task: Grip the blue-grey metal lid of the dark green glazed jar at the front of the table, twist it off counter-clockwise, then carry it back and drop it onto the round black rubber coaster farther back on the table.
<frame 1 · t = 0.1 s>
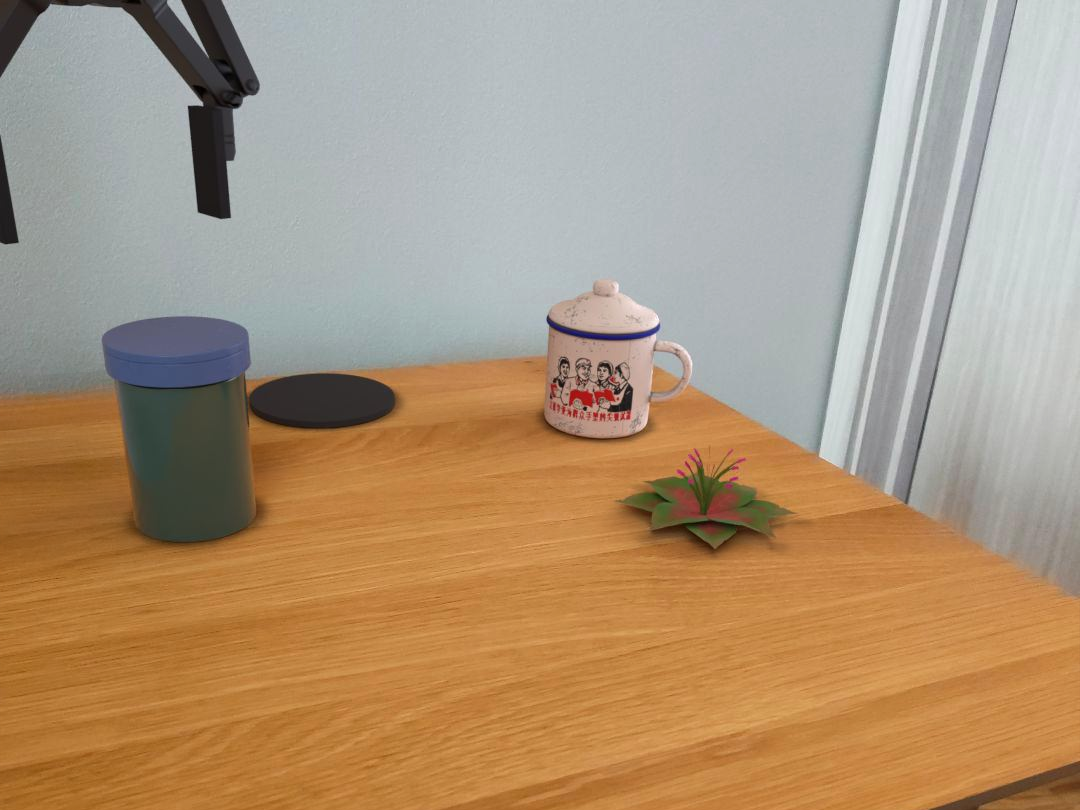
hand: (115, 227, 64), 18 cm above the table, tool pointing down, fingers open, 13 cm apart
jar lid: (177, 342, 64), point 12 cm above the table, screwed on, not yet turned
lily flower: (704, 518, 73), on the table
jar: (196, 516, 69), on the table
teacup with lid: (612, 425, 88), on the table
coaster: (323, 402, 89), on the table
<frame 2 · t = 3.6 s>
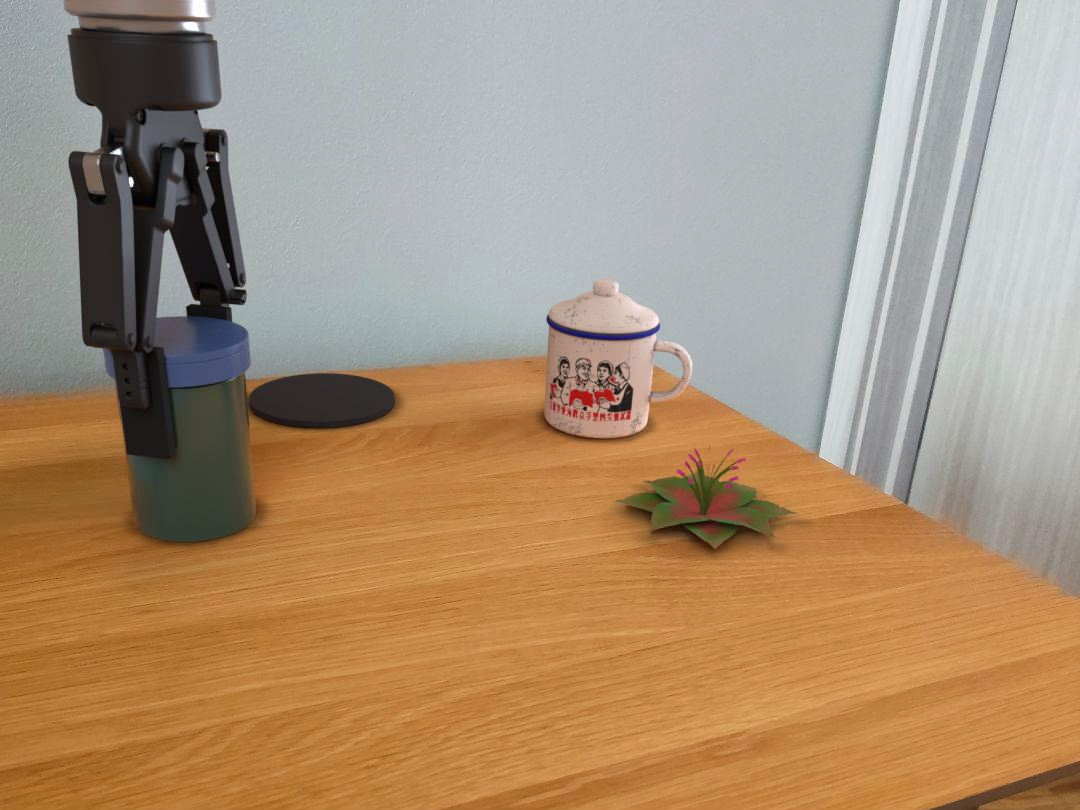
hand: (186, 427, 66), 6 cm above the table, tool pointing down, fingers closed on jar lid, 8 cm apart
jar lid: (177, 343, 64), point 12 cm above the table, screwed on, not yet turned, touching gripper
everything else where it was.
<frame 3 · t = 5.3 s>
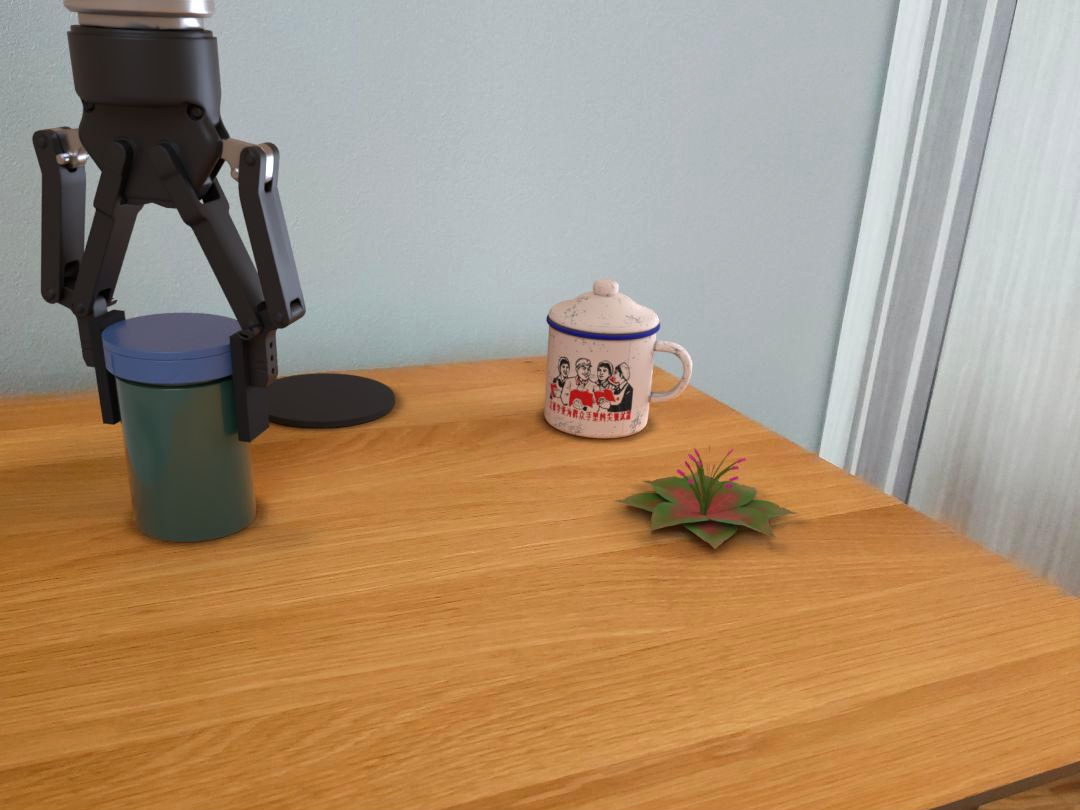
hand: (186, 425, 66), 6 cm above the table, tool pointing down, fingers closed on jar lid, 8 cm apart
jar lid: (177, 339, 64), point 12 cm above the table, turned 87° so far, risen 0.2 cm, still on its thread, touching gripper
everything else where it was.
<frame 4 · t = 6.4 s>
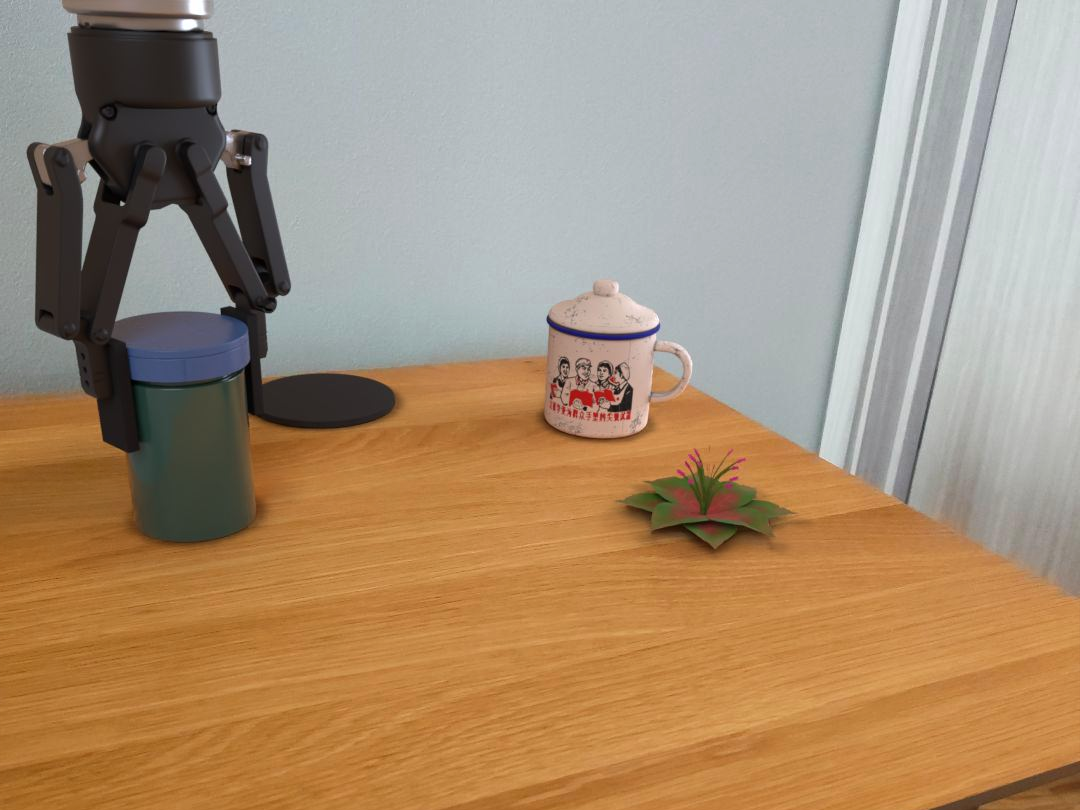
hand: (186, 426, 66), 6 cm above the table, tool pointing down, fingers closed on jar lid, 8 cm apart
jar lid: (176, 337, 64), point 12 cm above the table, off its thread, touching gripper
everything else where it was.
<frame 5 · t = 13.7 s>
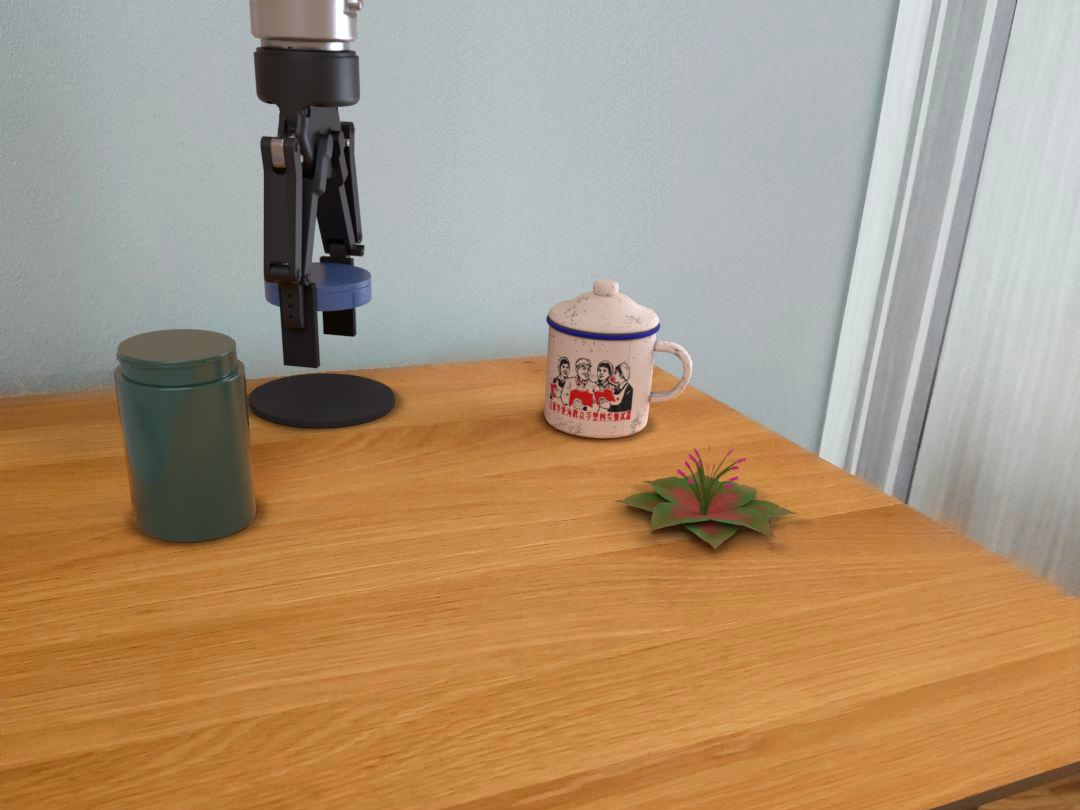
hand: (321, 349, 87), 5 cm above the table, tool pointing down, fingers closed on jar lid, 8 cm apart
jar lid: (318, 280, 84), point 10 cm above the table, off its thread, touching gripper
everything else where it was.
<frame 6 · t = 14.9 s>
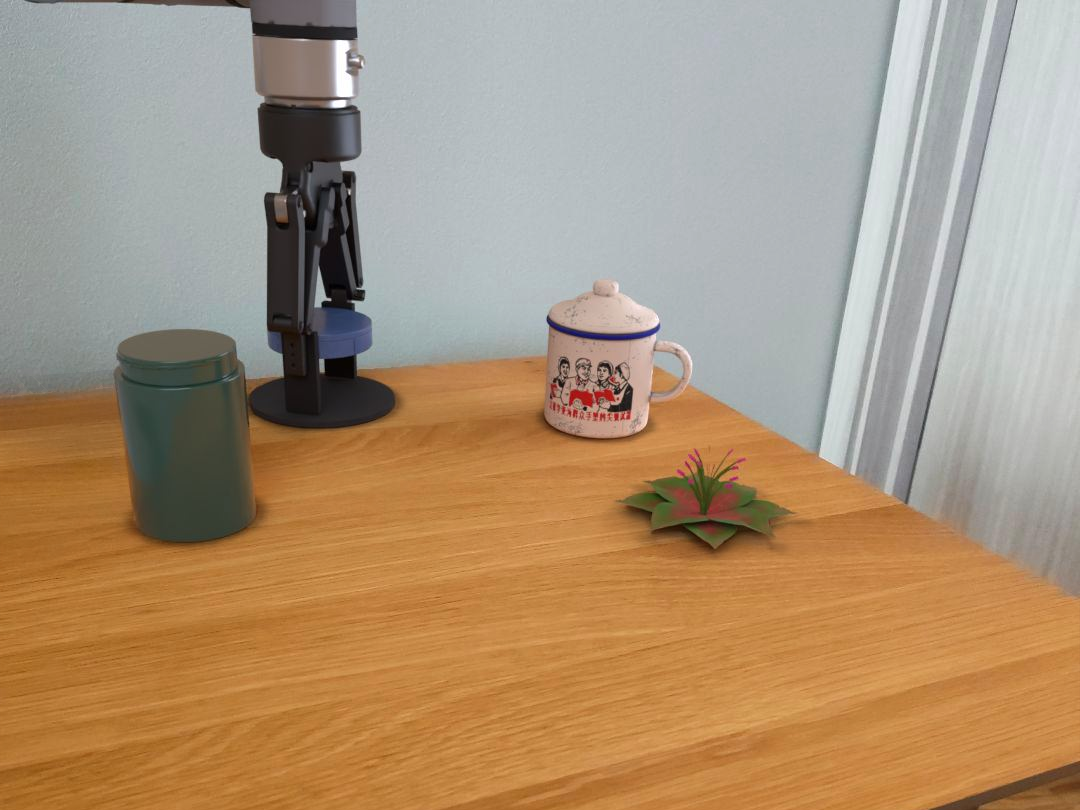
hand: (323, 392, 89), 1 cm above the table, tool pointing down, fingers closed on jar lid, 8 cm apart
jar lid: (319, 326, 86), point 7 cm above the table, off its thread, touching gripper
everything else where it was.
when the fingers open (2 cm above the table, at t = 24.1 s): jar lid drops 6 cm, resting on coaster.
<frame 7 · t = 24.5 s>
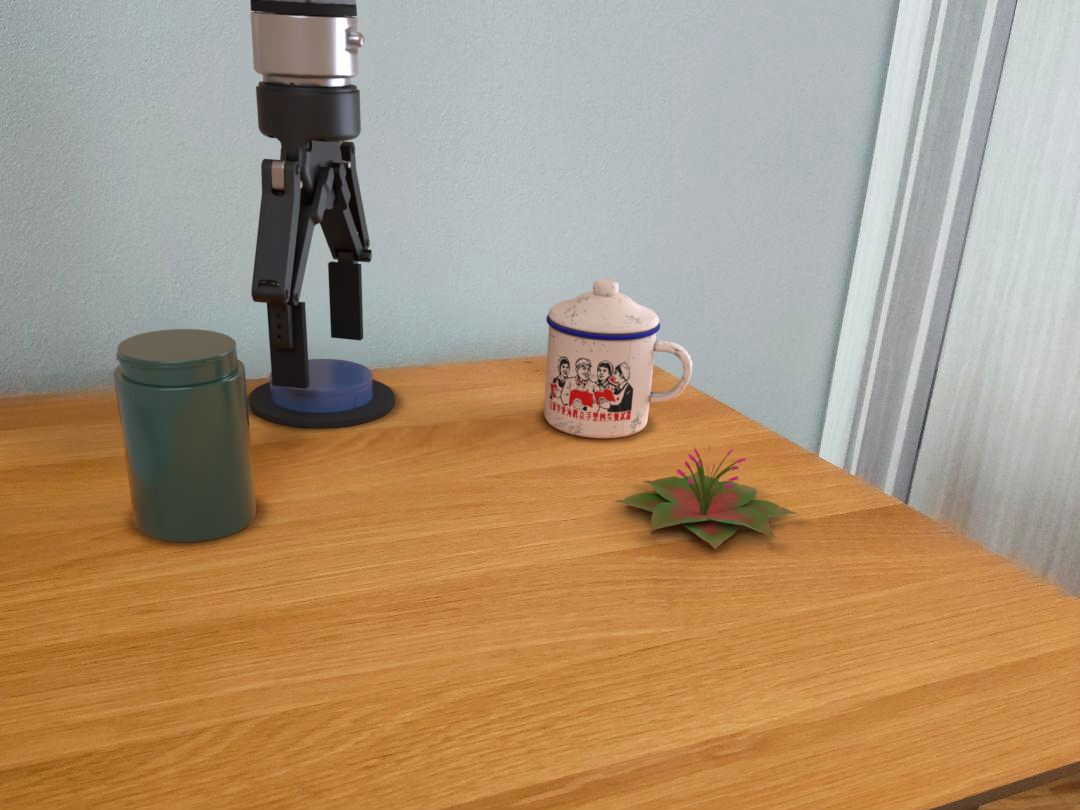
hand: (321, 360, 87), 4 cm above the table, tool pointing down, fingers open, 13 cm apart
jar lid: (321, 379, 88), point 2 cm above the table, off its thread, touching coaster
everything else where it was.
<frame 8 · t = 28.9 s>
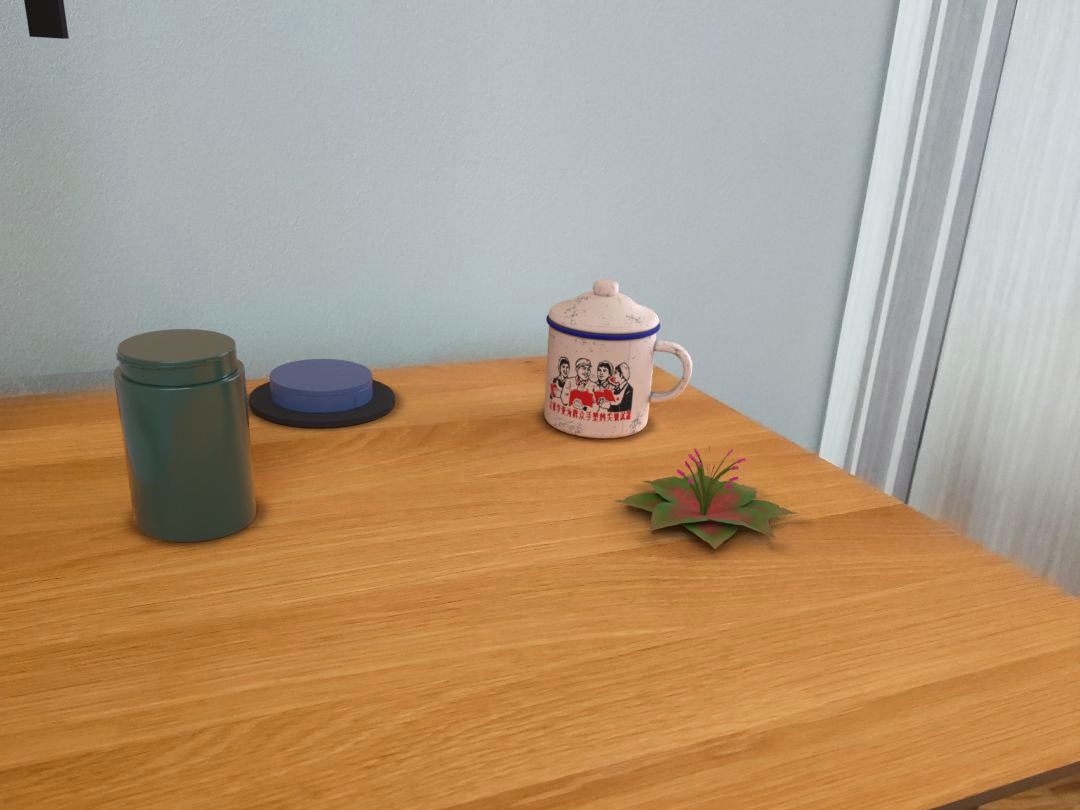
nothing on the table moved.
at the end: jar lid came off its thread; jar lid inside the target area on the coaster (0.0 cm from its centre), point 2.0 cm above the coaster's base; the gripper is holding nothing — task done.
